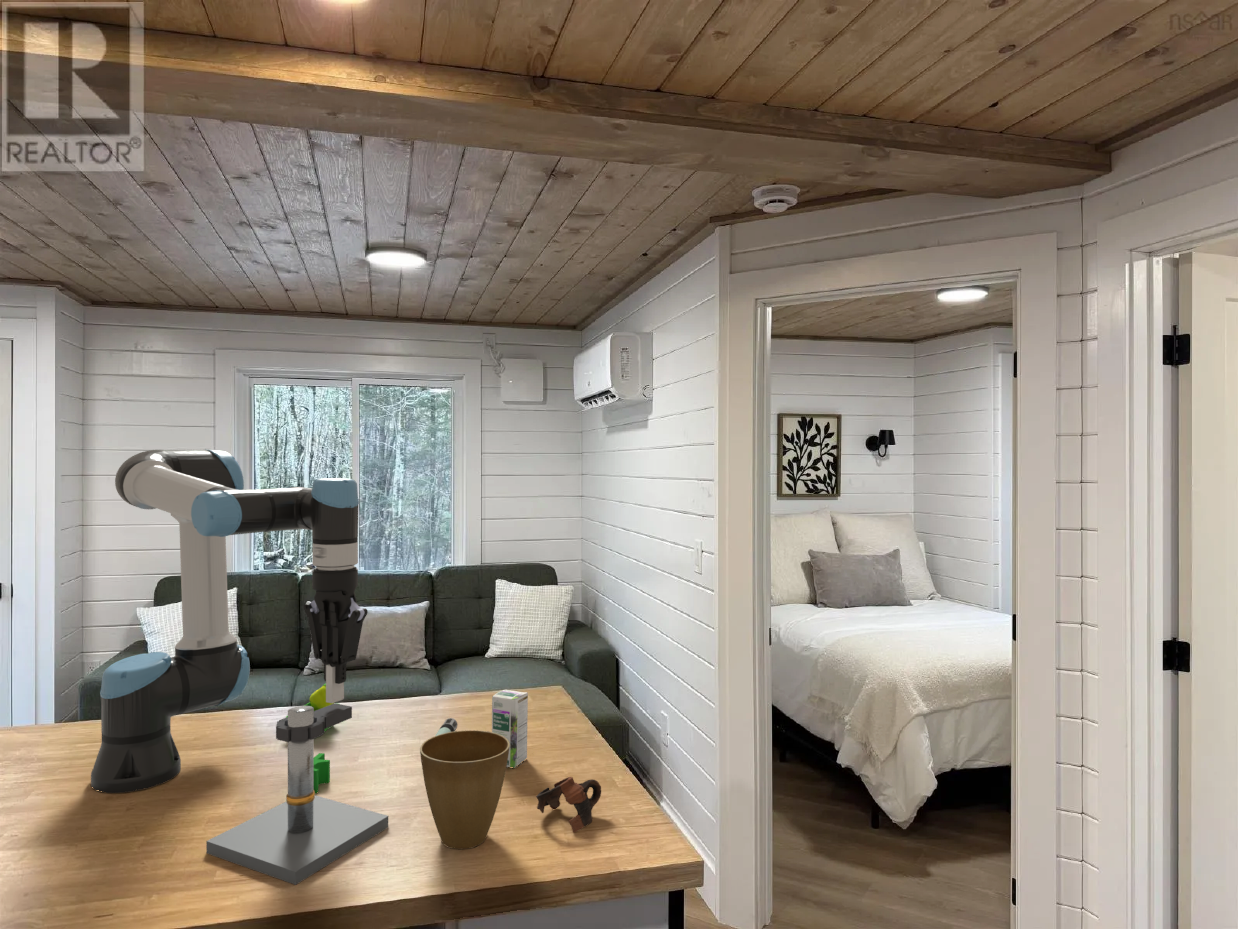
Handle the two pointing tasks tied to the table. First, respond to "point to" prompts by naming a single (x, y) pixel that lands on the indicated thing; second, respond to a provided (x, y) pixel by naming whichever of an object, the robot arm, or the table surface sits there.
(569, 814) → the table surface
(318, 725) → the collar
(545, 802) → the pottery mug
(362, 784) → the table surface
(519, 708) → the syrup box
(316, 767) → the pipe clamp
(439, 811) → the plant pot
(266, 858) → the pipe stand
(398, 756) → the table surface
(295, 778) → the pipe
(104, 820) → the table surface
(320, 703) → the fruit basket
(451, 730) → the flashlight
